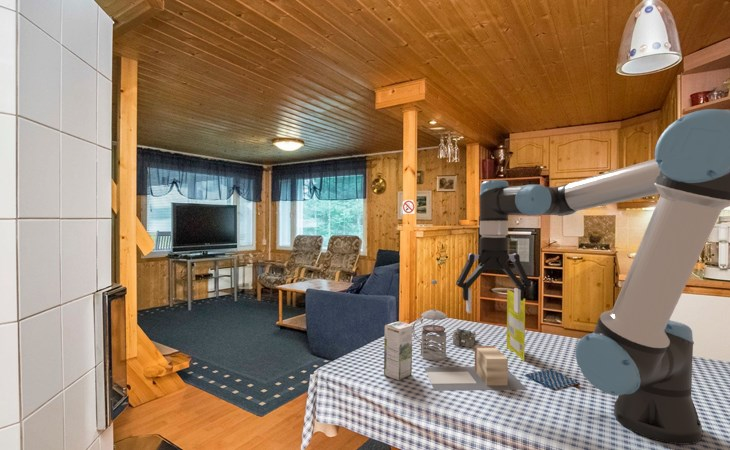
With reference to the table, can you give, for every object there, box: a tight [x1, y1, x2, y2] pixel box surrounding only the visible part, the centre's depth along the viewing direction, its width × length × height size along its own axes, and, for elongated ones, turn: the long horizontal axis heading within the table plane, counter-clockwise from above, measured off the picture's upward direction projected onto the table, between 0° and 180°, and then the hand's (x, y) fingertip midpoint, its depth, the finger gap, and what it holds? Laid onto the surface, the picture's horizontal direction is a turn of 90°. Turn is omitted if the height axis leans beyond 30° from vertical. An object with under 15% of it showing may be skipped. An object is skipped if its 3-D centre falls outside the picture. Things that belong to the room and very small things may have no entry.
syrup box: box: [383, 321, 414, 381], centre depth 108 cm, size 6×6×14 cm
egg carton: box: [451, 327, 477, 348], centre depth 137 cm, size 11×8×4 cm
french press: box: [412, 279, 448, 361], centre depth 122 cm, size 10×12×25 cm
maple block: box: [474, 345, 509, 386], centre depth 105 cm, size 10×6×7 cm, turn 2°
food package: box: [506, 289, 526, 362], centre depth 125 cm, size 15×1×20 cm, turn 179°
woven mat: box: [524, 368, 581, 392], centre depth 104 cm, size 10×11×2 cm
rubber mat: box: [423, 366, 528, 392], centre depth 105 cm, size 15×24×1 cm, turn 92°
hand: (492, 312), depth 107 cm, fingers open, 13 cm apart
